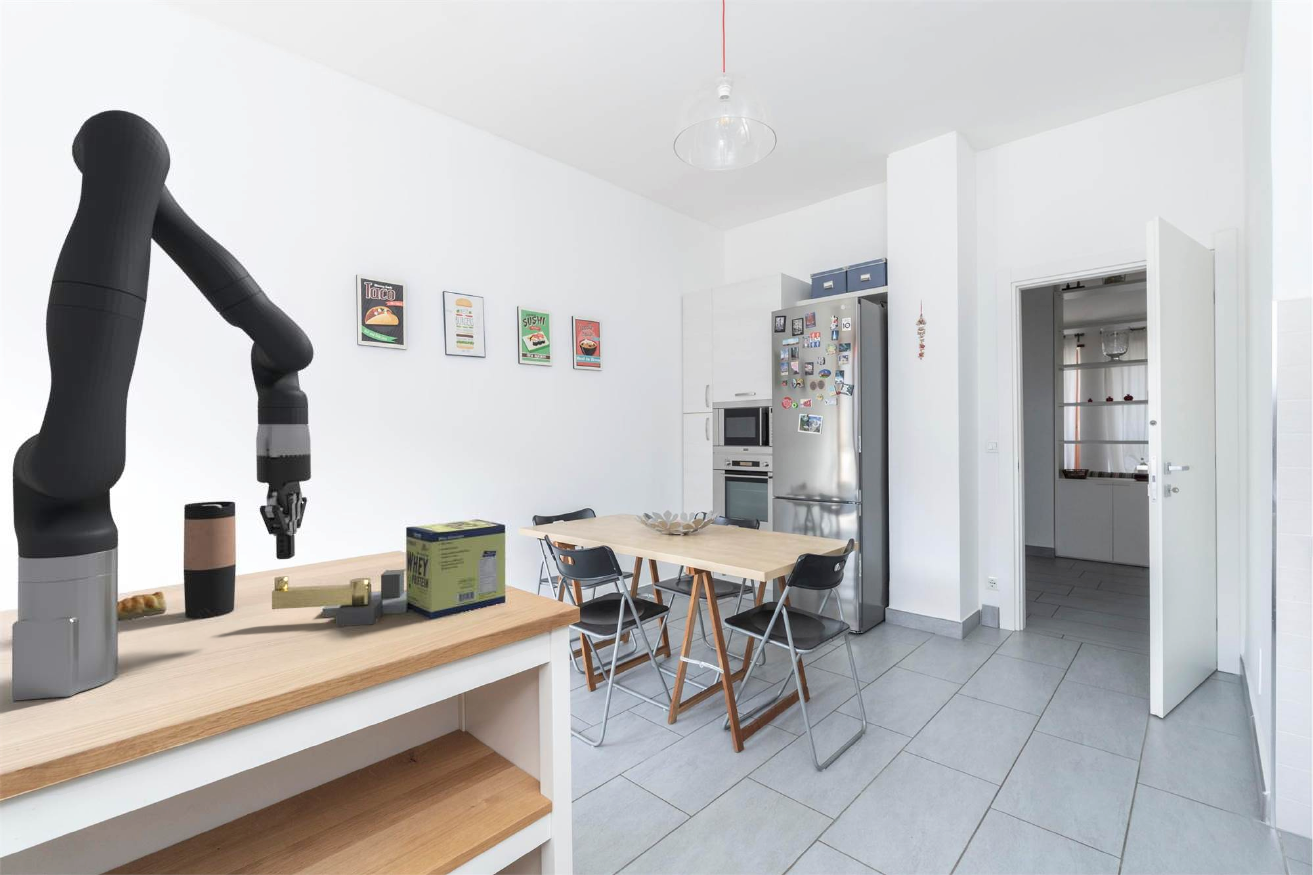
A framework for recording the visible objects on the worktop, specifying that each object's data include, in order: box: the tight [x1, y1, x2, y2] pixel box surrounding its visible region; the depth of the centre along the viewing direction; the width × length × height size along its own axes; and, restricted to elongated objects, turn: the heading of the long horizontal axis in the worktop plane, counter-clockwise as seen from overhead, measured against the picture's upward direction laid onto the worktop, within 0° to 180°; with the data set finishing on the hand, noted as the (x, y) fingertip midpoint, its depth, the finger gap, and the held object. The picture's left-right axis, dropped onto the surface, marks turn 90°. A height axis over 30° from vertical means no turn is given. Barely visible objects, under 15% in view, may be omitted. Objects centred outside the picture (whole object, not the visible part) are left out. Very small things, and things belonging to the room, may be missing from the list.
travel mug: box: [183, 500, 237, 620], centre depth 108 cm, size 8×8×20 cm
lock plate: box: [322, 569, 409, 627], centre depth 110 cm, size 17×14×6 cm
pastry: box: [118, 591, 168, 621], centre depth 107 cm, size 9×7×4 cm
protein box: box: [405, 519, 506, 620], centre depth 113 cm, size 10×16×16 cm
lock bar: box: [271, 575, 372, 610], centre depth 103 cm, size 15×3×5 cm, turn 102°
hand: (285, 558), depth 97 cm, fingers closed
